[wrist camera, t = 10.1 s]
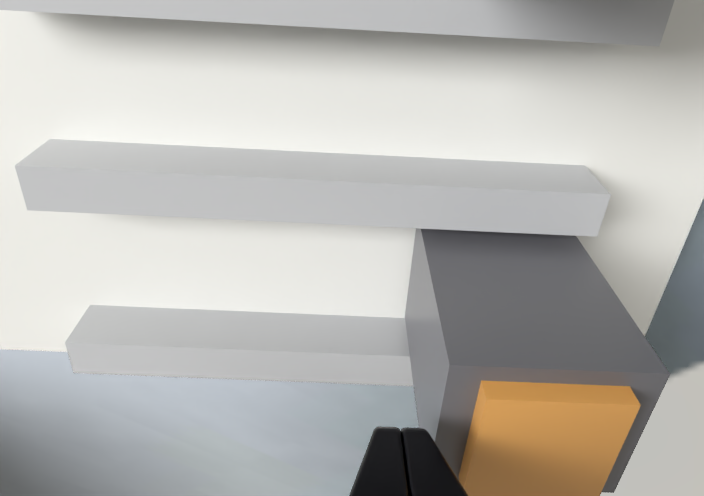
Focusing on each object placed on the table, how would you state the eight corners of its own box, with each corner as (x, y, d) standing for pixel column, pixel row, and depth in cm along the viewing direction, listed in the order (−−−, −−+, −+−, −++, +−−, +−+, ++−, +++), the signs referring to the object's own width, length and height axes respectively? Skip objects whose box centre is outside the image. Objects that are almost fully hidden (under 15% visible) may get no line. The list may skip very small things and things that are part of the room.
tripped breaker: (404, 316, 14) (428, 505, 10) (418, 214, 13) (454, 384, 8) (537, 321, 15) (622, 512, 10) (566, 221, 13) (683, 392, 8)
